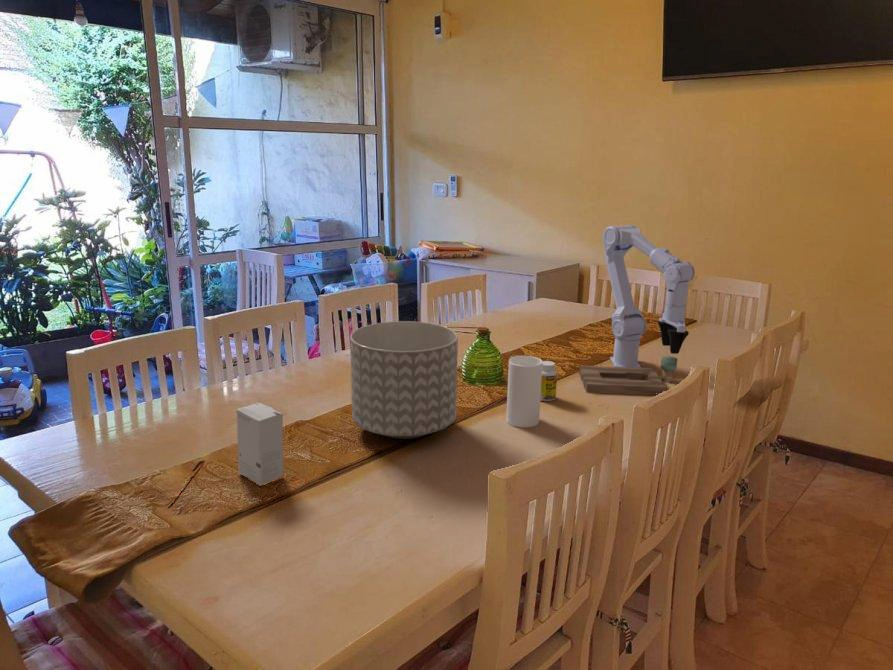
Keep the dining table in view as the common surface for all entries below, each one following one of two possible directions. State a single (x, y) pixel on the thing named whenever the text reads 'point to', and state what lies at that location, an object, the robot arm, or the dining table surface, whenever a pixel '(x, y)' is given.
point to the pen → (197, 465)
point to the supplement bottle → (548, 381)
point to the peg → (668, 368)
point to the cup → (524, 391)
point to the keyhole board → (621, 380)
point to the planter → (404, 378)
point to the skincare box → (260, 443)
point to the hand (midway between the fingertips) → (670, 349)
